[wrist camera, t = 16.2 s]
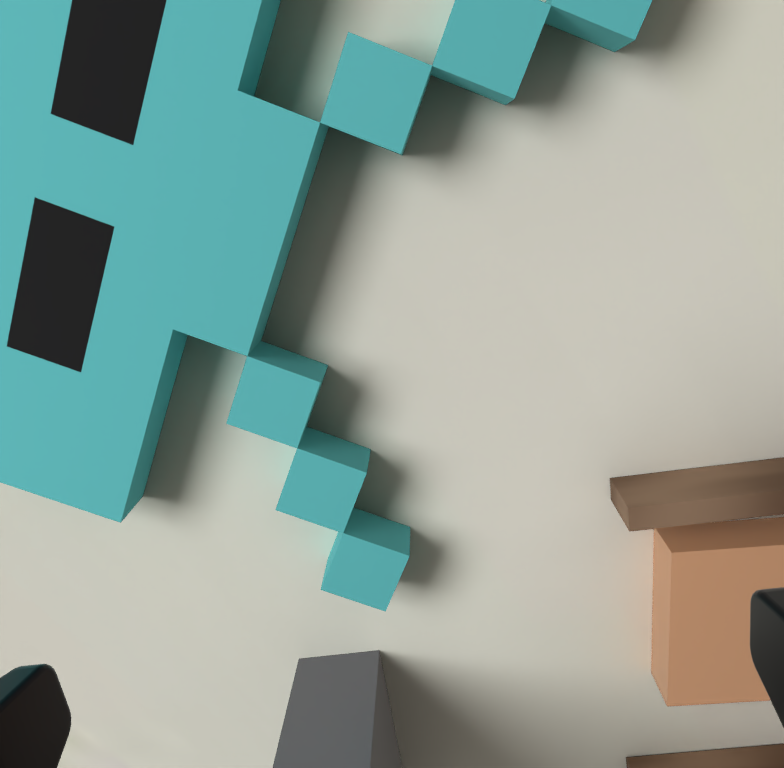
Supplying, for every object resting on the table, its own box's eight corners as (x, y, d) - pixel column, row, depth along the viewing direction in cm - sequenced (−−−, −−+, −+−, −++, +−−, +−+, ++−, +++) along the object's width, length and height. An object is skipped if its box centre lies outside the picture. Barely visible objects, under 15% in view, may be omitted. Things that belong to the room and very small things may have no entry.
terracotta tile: (832, 506, 22) (871, 538, 20) (815, 653, 24) (850, 695, 22) (650, 520, 23) (671, 552, 21) (647, 664, 25) (667, 706, 23)
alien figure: (647, -32, 18) (-99, -349, 16) (678, -60, 16) (-176, -427, 14) (388, 571, 24) (-173, 381, 22) (385, 611, 22) (-235, 403, 20)
